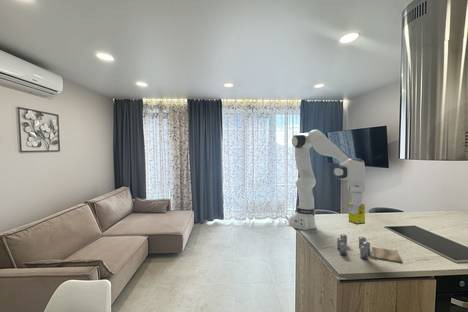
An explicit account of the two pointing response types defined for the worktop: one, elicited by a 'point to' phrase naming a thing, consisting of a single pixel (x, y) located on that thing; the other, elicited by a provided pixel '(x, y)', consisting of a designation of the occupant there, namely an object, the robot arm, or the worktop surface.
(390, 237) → the worktop surface
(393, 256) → the walnut pad
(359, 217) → the supplement box
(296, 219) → the robot arm
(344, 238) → the spacer field
